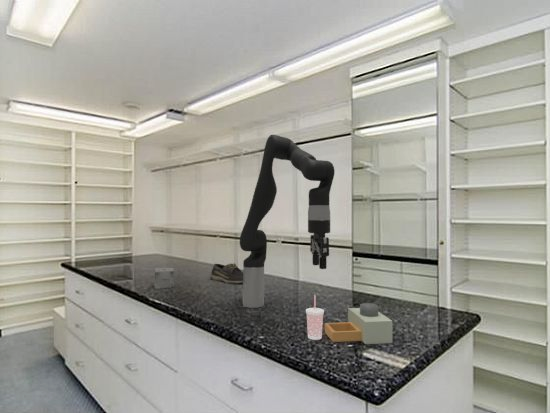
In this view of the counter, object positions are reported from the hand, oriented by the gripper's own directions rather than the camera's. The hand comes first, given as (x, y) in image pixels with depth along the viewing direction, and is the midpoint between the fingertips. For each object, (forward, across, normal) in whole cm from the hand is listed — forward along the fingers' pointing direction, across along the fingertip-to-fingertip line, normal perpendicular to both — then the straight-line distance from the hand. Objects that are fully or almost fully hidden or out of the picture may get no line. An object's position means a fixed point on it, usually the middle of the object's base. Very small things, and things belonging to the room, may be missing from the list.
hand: (319, 266), depth 121 cm
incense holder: (+22, -84, -62) cm, 107 cm away
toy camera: (+23, +2, +12) cm, 26 cm away
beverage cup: (+23, +2, -2) cm, 23 cm away
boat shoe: (+22, -96, -27) cm, 102 cm away
